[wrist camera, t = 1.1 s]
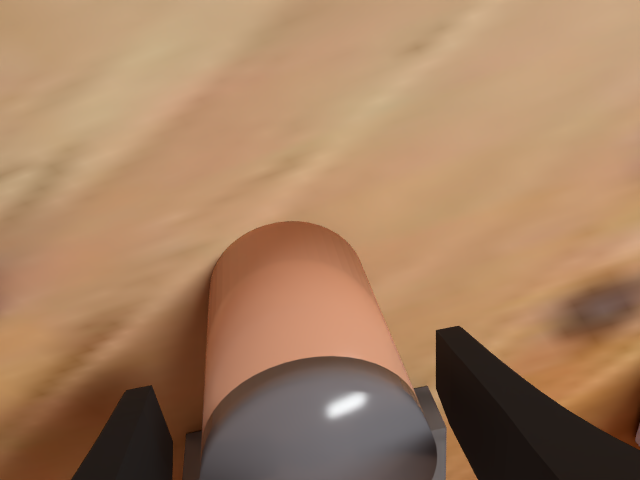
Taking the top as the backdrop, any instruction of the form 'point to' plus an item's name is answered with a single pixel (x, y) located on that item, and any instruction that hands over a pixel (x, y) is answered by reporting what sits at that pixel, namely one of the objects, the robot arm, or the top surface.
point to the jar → (305, 367)
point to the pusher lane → (426, 402)
